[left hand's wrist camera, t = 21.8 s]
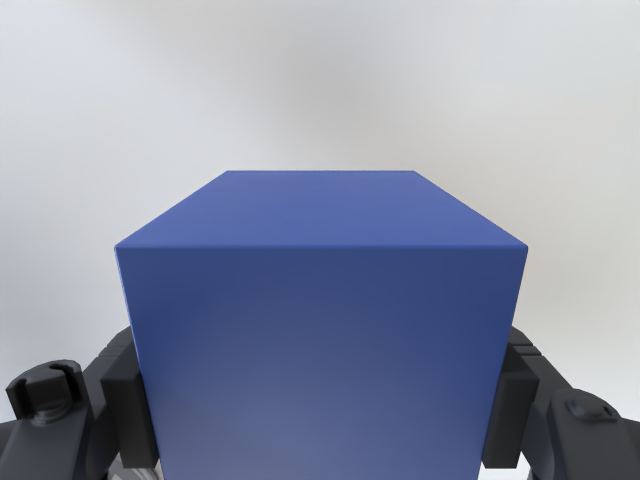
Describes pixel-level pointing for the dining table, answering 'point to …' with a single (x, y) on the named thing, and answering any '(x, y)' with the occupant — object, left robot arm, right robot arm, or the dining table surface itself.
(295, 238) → the block
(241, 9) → the dining table surface
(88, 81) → the dining table surface
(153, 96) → the dining table surface
